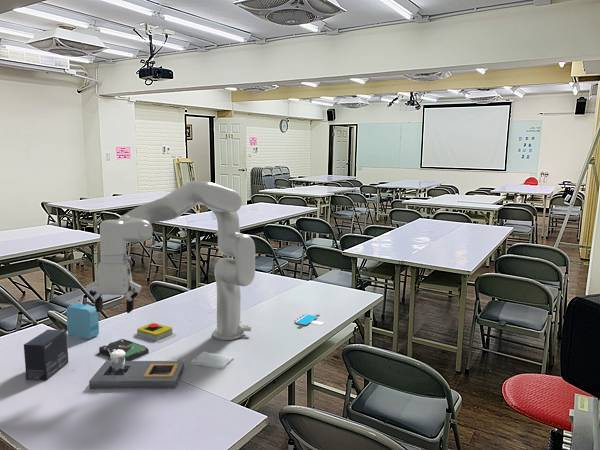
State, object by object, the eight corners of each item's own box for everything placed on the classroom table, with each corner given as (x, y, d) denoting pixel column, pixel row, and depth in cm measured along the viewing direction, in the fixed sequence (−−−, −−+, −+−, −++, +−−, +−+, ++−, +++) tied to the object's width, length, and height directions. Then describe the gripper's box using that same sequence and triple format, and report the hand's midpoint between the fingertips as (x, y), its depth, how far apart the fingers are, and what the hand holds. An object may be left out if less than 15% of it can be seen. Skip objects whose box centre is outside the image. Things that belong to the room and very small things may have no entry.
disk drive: (98, 354, 162) (125, 364, 154) (98, 347, 161) (125, 356, 154) (122, 345, 171) (149, 353, 163) (122, 338, 170) (149, 346, 163)
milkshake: (111, 374, 146) (110, 345, 144) (128, 374, 146) (127, 345, 145) (106, 381, 141) (105, 351, 140) (123, 381, 142) (122, 351, 140)
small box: (49, 362, 154) (47, 328, 152) (69, 362, 154) (67, 329, 152) (25, 380, 141) (22, 344, 139) (46, 381, 140) (44, 344, 139)
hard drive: (191, 360, 155) (223, 366, 152) (203, 351, 163) (234, 356, 159) (191, 364, 156) (223, 370, 152) (203, 355, 163) (234, 360, 160)
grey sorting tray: (184, 367, 152) (184, 360, 152) (175, 388, 138) (175, 380, 138) (106, 368, 150) (106, 360, 150) (89, 388, 136) (89, 380, 136)
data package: (99, 336, 177) (98, 306, 176) (90, 340, 173) (89, 310, 171) (76, 331, 181) (75, 302, 180) (67, 335, 177) (65, 306, 176)
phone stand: (312, 332, 188) (312, 328, 188) (287, 327, 194) (287, 323, 194) (331, 318, 206) (331, 315, 206) (308, 314, 211) (308, 310, 211)
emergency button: (150, 318, 187) (177, 325, 180) (151, 328, 188) (177, 336, 181) (133, 325, 179) (160, 333, 172) (133, 335, 180) (160, 343, 172)
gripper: (145, 257, 145) (145, 308, 147) (91, 255, 145) (93, 306, 147) (136, 262, 137) (137, 316, 139) (80, 260, 137) (81, 314, 140)
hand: (114, 311), depth 143 cm, fingers open, 9 cm apart
